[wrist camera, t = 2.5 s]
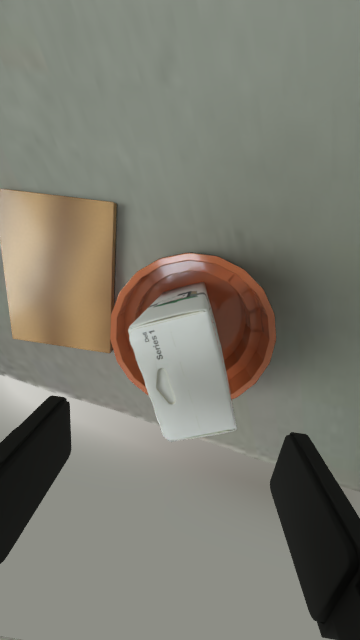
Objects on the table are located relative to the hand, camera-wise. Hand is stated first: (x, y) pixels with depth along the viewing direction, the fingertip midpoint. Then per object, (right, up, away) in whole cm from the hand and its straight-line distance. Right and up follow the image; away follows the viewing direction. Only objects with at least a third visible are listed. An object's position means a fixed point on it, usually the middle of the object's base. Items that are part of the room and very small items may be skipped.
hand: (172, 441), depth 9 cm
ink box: (+2, +5, +15) cm, 16 cm away
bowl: (+2, +5, +15) cm, 16 cm away
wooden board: (-13, +10, +15) cm, 22 cm away
